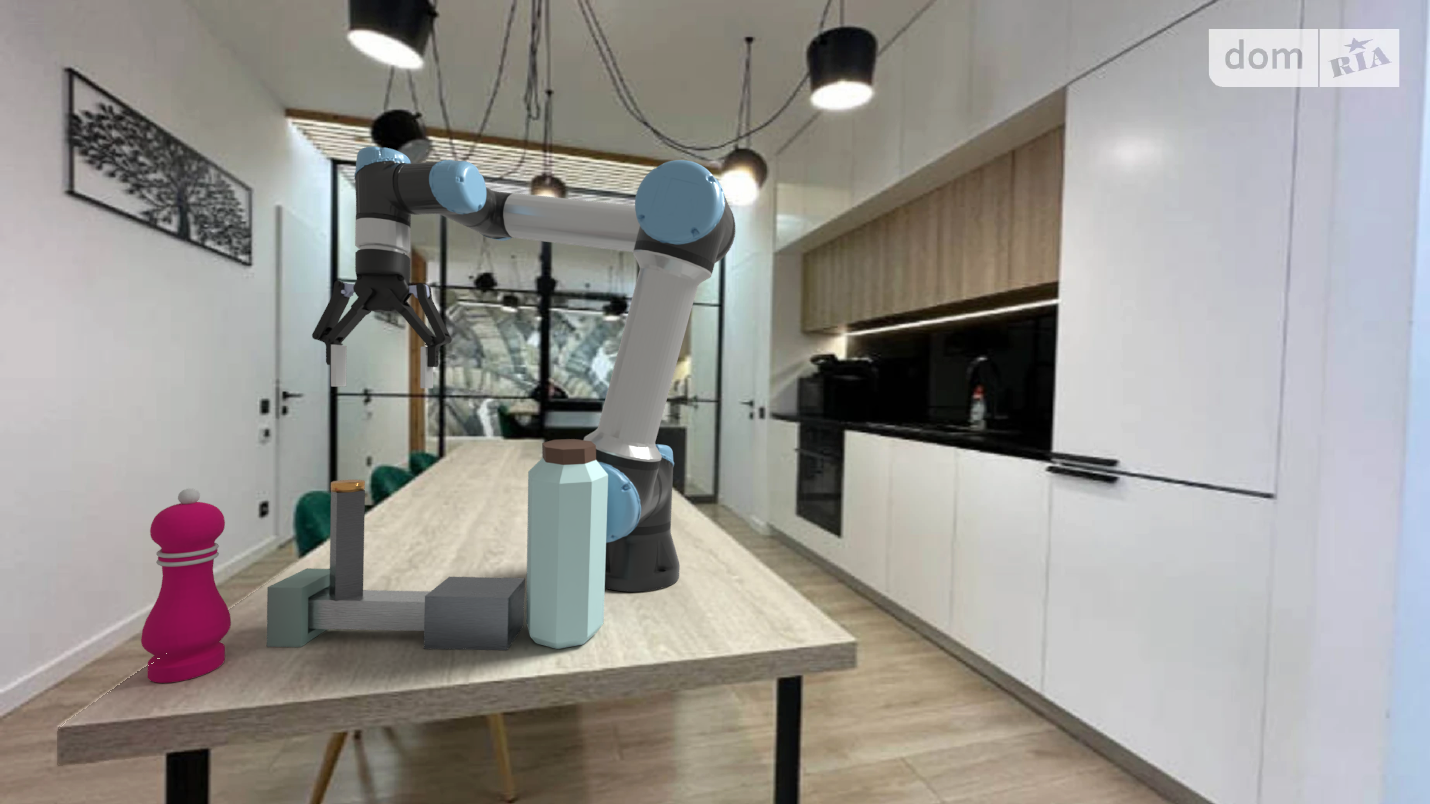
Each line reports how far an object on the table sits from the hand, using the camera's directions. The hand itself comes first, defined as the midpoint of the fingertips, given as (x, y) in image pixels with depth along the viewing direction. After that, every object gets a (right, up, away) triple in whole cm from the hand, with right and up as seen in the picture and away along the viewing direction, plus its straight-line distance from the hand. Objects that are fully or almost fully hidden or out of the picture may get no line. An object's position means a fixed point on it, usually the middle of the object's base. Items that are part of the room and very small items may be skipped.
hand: (382, 387), depth 90 cm
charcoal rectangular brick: (+22, -32, -17) cm, 43 cm away
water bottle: (+33, -33, -15) cm, 49 cm away
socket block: (+1, -32, -18) cm, 36 cm away
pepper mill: (-6, -32, -27) cm, 42 cm away
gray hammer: (+9, -30, -18) cm, 36 cm away
